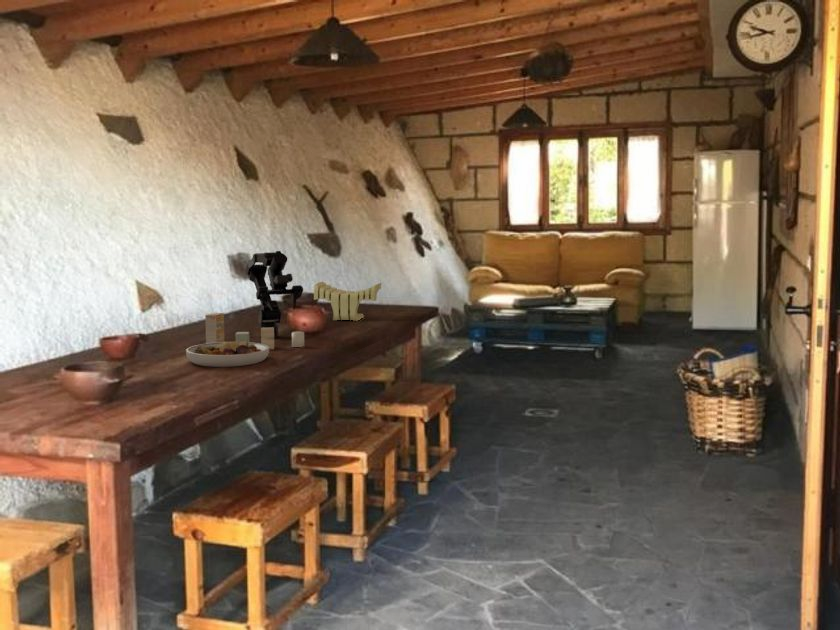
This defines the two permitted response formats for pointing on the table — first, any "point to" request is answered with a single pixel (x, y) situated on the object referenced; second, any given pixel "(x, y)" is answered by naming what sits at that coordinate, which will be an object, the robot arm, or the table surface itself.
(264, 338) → the beech block
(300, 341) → the beige square block
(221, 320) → the supplement box
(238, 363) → the bowl
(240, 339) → the sage cube
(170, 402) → the table surface
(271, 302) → the robot arm
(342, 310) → the slatted curved stool
